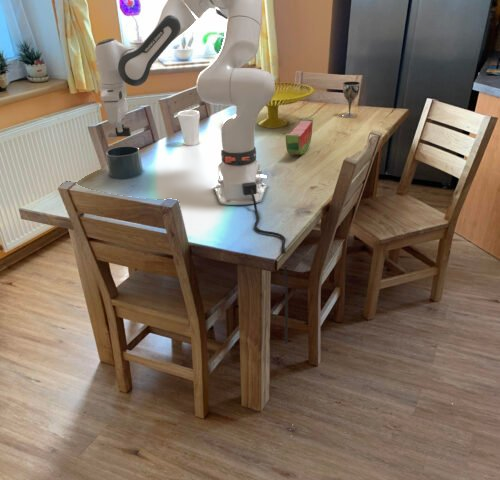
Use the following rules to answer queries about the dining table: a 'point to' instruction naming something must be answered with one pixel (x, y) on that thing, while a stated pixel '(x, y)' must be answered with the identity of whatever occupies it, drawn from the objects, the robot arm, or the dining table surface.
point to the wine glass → (350, 94)
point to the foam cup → (189, 126)
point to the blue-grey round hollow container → (124, 162)
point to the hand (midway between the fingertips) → (121, 130)
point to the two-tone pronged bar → (118, 134)
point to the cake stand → (281, 100)
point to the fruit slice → (299, 137)
